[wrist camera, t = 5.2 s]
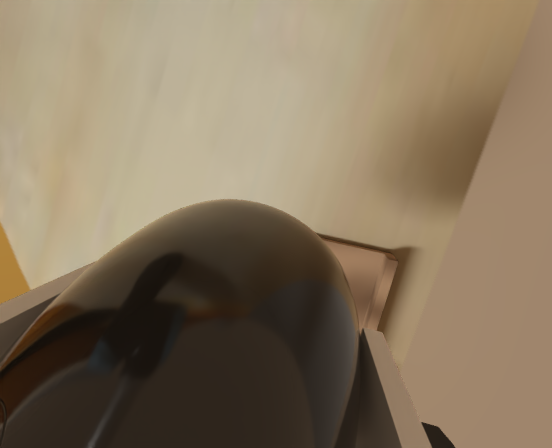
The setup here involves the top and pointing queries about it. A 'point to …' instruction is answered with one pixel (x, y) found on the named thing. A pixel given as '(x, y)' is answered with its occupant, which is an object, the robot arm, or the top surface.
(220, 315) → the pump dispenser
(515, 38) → the top surface
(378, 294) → the brown wooden tray
